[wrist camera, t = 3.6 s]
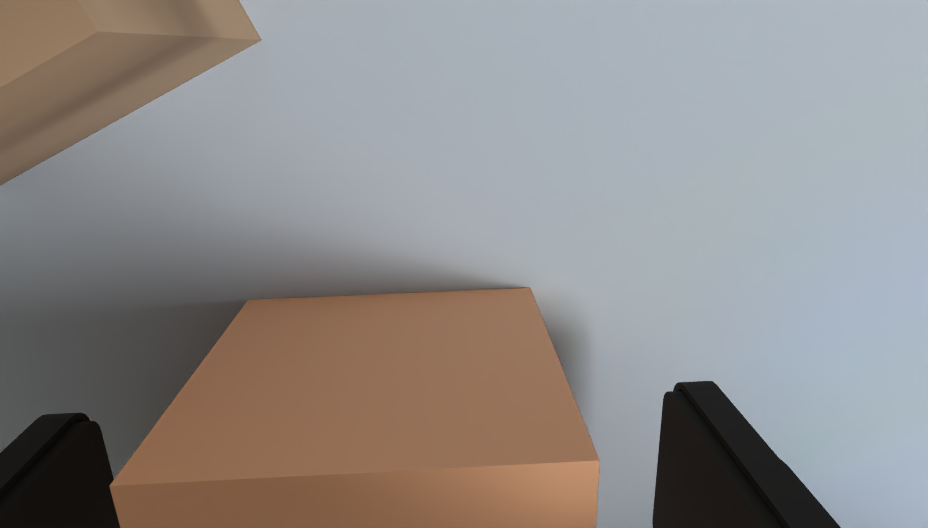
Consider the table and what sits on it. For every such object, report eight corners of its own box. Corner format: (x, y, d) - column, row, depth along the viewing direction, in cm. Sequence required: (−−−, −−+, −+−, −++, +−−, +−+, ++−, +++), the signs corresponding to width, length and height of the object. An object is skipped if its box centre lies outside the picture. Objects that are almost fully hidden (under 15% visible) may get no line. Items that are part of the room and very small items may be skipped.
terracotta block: (248, 298, 11) (109, 486, 6) (529, 286, 11) (599, 460, 6) (284, 524, 13) (194, 808, 8) (527, 511, 13) (581, 780, 8)
